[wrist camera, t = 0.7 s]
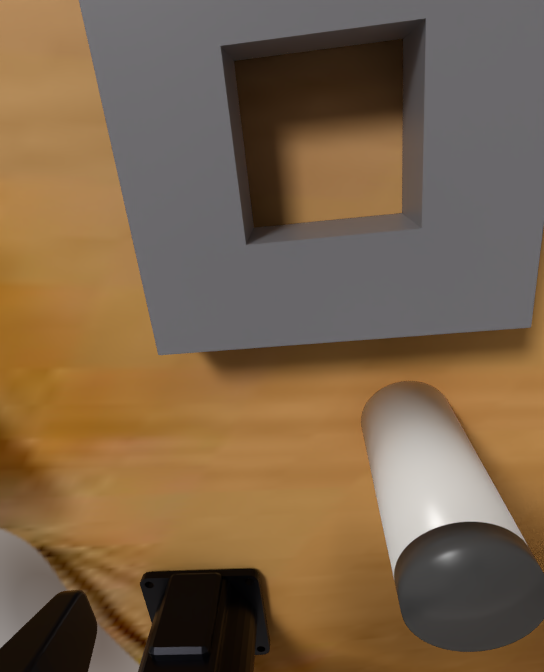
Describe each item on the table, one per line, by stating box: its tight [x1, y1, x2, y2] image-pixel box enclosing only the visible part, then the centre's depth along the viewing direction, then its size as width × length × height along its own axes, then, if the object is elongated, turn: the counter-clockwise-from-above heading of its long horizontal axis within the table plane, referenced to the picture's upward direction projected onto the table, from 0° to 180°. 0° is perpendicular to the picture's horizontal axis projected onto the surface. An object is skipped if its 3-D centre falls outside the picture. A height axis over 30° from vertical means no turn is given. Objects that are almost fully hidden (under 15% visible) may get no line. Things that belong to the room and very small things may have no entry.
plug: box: [361, 381, 544, 652], centre depth 17 cm, size 4×4×9 cm
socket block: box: [79, 0, 544, 355], centre depth 15 cm, size 13×13×3 cm
